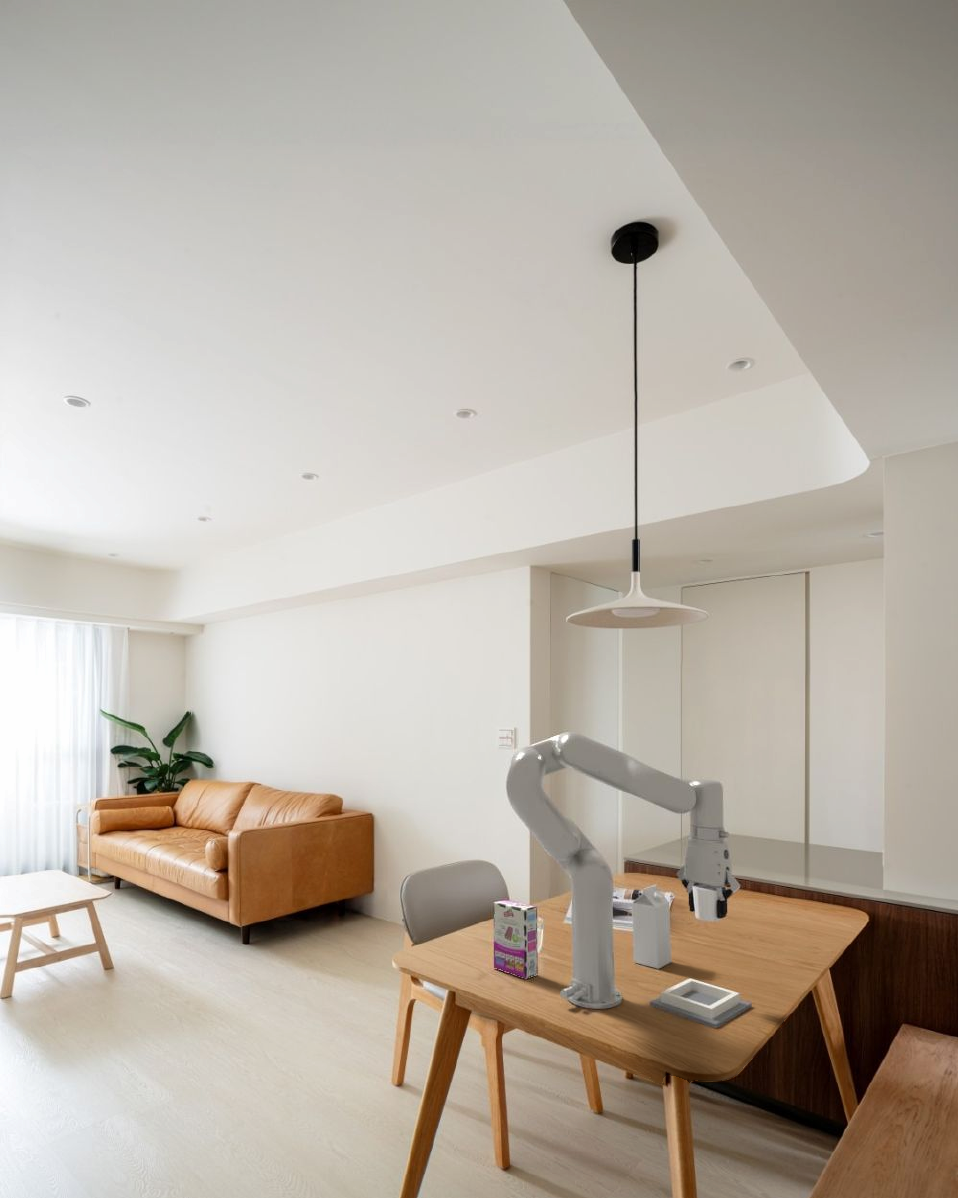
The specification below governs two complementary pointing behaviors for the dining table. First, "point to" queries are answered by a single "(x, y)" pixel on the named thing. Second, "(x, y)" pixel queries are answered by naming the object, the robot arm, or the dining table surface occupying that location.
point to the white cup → (705, 902)
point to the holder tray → (701, 1002)
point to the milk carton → (651, 928)
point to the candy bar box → (515, 938)
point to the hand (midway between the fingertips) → (707, 913)
